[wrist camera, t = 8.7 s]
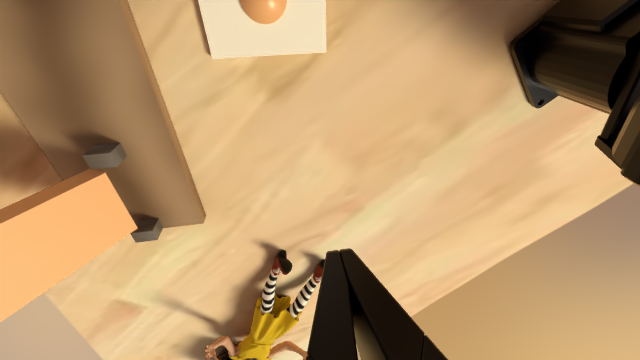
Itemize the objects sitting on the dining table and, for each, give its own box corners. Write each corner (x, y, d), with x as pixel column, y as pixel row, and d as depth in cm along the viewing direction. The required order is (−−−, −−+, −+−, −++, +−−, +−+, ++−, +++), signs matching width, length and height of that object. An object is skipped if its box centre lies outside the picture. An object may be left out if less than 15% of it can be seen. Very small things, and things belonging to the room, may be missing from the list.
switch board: (24, -280, 10) (-39, -349, 8) (205, 215, 24) (200, 235, 22) (-244, -297, 9) (-388, -376, 7) (107, 226, 23) (92, 248, 21)
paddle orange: (105, 172, 17) (-207, 323, 10) (137, 228, 20) (-83, 378, 13) (92, 167, 18) (-211, 305, 10) (125, 221, 21) (-92, 362, 13)
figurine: (371, 299, 27) (277, 426, 36) (349, 247, 34) (274, 366, 42) (242, 276, 22) (169, 429, 31) (245, 221, 29) (184, 361, 38)
